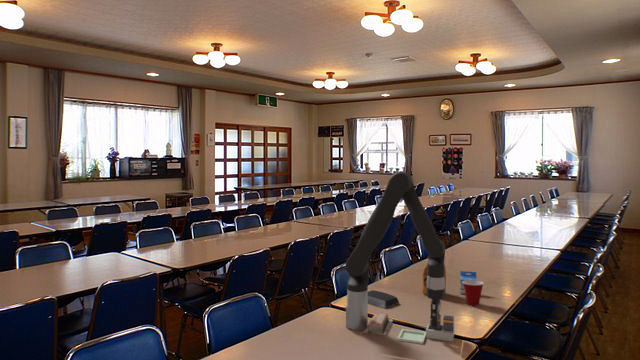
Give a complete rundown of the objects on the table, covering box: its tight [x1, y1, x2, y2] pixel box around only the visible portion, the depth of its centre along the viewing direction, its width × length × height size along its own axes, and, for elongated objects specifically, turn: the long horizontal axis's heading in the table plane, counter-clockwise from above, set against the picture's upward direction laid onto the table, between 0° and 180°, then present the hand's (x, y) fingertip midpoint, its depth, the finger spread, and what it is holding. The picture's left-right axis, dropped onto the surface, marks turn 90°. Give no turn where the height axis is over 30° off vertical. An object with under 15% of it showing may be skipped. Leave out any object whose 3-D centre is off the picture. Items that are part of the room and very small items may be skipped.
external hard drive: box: [368, 289, 400, 309], centre depth 235 cm, size 13×19×4 cm
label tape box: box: [459, 270, 478, 295], centre depth 248 cm, size 9×4×12 cm, turn 73°
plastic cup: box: [462, 280, 485, 307], centre depth 230 cm, size 11×11×12 cm
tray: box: [396, 328, 426, 345], centre depth 187 cm, size 11×11×2 cm
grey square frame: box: [425, 314, 455, 342], centre depth 188 cm, size 11×8×9 cm
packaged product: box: [363, 312, 394, 336], centre depth 199 cm, size 18×5×10 cm
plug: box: [429, 313, 442, 331], centre depth 189 cm, size 4×4×8 cm
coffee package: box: [421, 255, 447, 296], centre depth 248 cm, size 10×12×22 cm
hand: (435, 323), depth 189 cm, fingers open, 8 cm apart
